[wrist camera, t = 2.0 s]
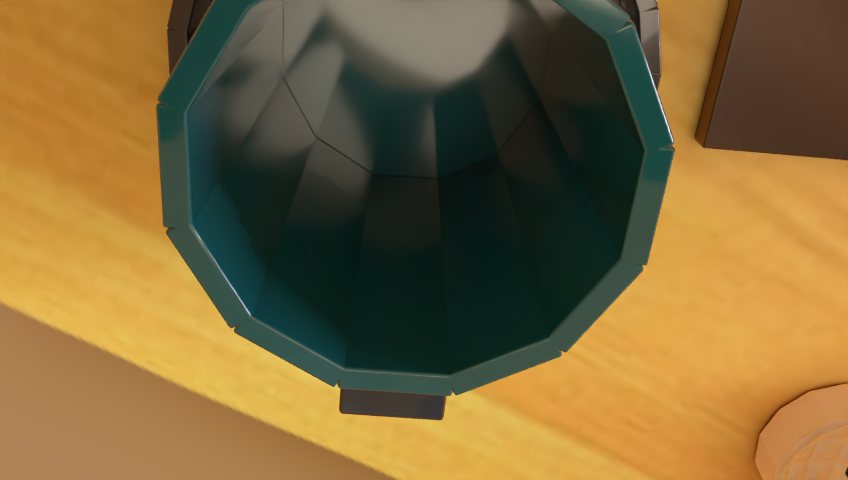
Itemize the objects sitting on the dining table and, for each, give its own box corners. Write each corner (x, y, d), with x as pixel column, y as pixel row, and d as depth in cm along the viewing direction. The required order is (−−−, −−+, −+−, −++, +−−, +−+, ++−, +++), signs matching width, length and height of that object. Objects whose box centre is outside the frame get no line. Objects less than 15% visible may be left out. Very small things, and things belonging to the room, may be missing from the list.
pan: (202, -210, 24) (153, -225, 19) (661, -163, 25) (715, -166, 20) (214, 214, 30) (179, 277, 26) (580, 243, 31) (608, 310, 26)
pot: (268, -185, 24) (134, -220, 12) (595, -152, 24) (750, -156, 13) (267, 213, 29) (174, 434, 18) (531, 234, 30) (599, 462, 19)
